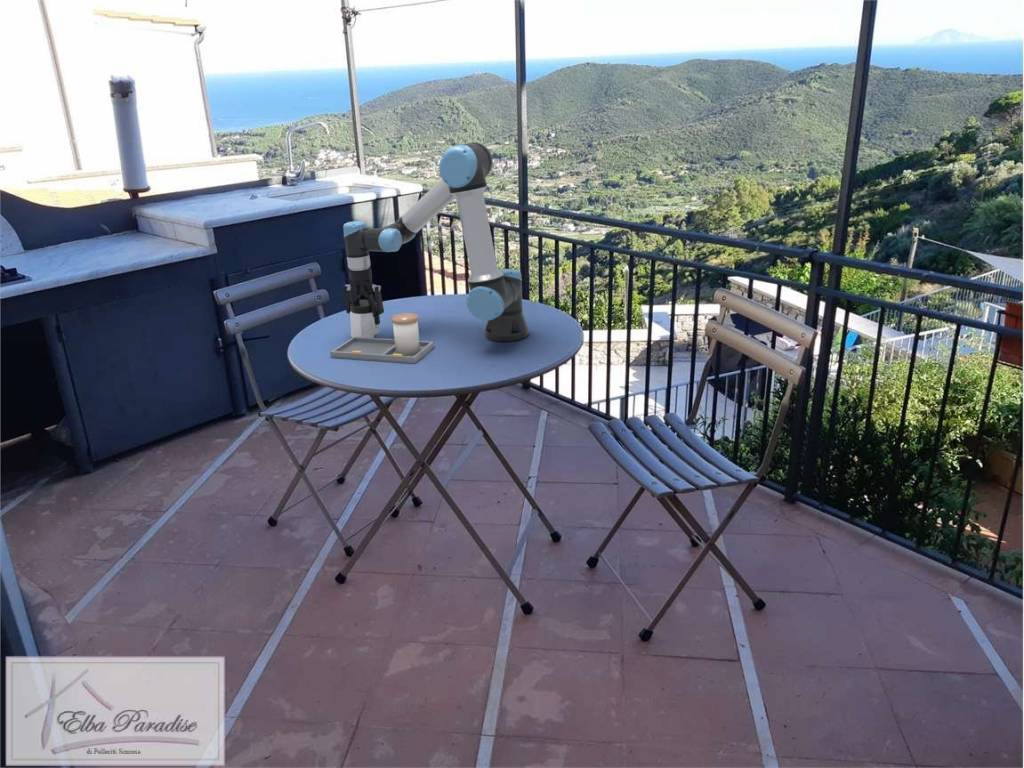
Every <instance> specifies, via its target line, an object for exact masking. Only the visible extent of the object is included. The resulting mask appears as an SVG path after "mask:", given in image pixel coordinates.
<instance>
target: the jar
mask: <svg viewBox="0 0 1024 768" xmlns="http://www.w3.org/2000/svg"><path fill="white" fill-rule="evenodd" d="M349 315H350V316H349V317H350V334H351V338H352V337H367V338H375V335H374V332H373V324H372V316H373V313H372V310H371V306H370V305H369V303H368V301H367V299H360V301H359V302H358V303H353V300H352V302H351V303H350V314H349Z"/></svg>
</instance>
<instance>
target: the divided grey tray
mask: <svg viewBox="0 0 1024 768" xmlns="http://www.w3.org/2000/svg"><path fill="white" fill-rule="evenodd" d="M419 342H420V351H419V352H418V353H417V354H416V355H414V356H403V354H396V351H395V341H394V338H382V337H381V338H378V337H374V338H367V337H351V338H349V339H348V340H346V341H345V342H343V343H342V344H339V346H337V347H335V348H333V349H332V350H330V351H329V355H330V358H331V357H332V358H331V359H333V358H334V359H342V358H344V360H345V359H346V360H358V361H359V360H360V361H369V362H370V361H373V362H385V363H397V364H398V363H400V364H411V365H412V364H413V365H415V364H417V363H418V362H419V361H420V360H421V359H423V358H424V357H425V356H427V355H428V354H429V353H430V352H431V351H433V350H434V349H435V341H429V340H419Z"/></svg>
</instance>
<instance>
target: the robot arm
mask: <svg viewBox="0 0 1024 768" xmlns="http://www.w3.org/2000/svg"><path fill="white" fill-rule="evenodd" d="M439 160H440V161H439V164H438V170H439V174H440V177H441V179H440V180H439V181H438V182H437V183H436V184H435V185H434V186H433V187H431V188H430V189H429V190H428V191H427V192H425V194H424V195H423V196H422V197H420V198H419V199H418V201H417V202H415V203H414V204H413V205H412V206H411V207H410V208H409V209H407V211H406V212H404V214H402V216H400V217H399V218H398V219H397V220H396V221H395V222H393V223H391V224H388V225H385V226H383V227H377V228H369V227H367V224H366V222H365V221H359V220H357V221H355V220H354V221H347V222H346V223H344V224H343V227H342V228H343V239H344V244H345V251H346V260H347V267H348V277H349V281H350V283H349V284H348V283H347V284H345V285H343V286H342V290H343V292H344V298H345V299H344V301H345V312H346V314H348V315H350V303H351V302H352V301H353V303H358V302H359V301H360V300H361V297H362V296H364V298H365V300H367V301H368V303H369V305H370V306H371V310H372V313H373V316H372V324H373V332H374V335H377V334H379V333H380V329H379V328H380V327H379V325H380V323H381V319H380V318H381V316H380V315H382V314H384V313H385V309H384V304H383V298H382V292H381V291H382V285H380V284H379V285H376V284H374V281H373V275H372V268H371V259H370V252H379V253H380V252H382V253H391V252H394V253H395V252H398V251H399V250H400V248H401V247H402V245H404V244H406V243H409V242H410V241H412V240H413V239H414V238H415V237H416V234H417V233H419V231H421V229H422V228H424V227H425V226H427V224H429V222H430V221H432V220H433V219H434V218H435V217H436V216H437V215H438V214H440V213H441V212H442V211H443V210H444V209H446V207H448V206H449V205H450V204H451V203H452V202H453V201H454V200H456V205H457V210H458V214H459V221H460V225H461V229H462V235H463V239H464V244H465V250H466V254H467V259H468V265H469V270H470V276H469V277H468V279H467V282H468V283H467V284H468V289H469V292H468V294H467V297H466V306H467V307H466V308H467V309H468V311H469V312H470V314H471V315H473V316H474V317H475V318H476V319H477V320H478V319H479V320H480V321H481V320H482V321H486V323H485V327H484V338H486V339H487V338H488V339H487V340H489V339H490V340H489V341H493V340H494V342H501V341H507V342H515V341H514V340H516V341H520V340H523V339H525V338H527V337H528V336H529V326H528V323H527V321H526V318H525V316H524V315H525V314H524V312H523V311H524V309H523V285H522V284H523V283H522V282H523V279H522V273H521V271H519V270H518V269H512V268H498V264H497V259H496V255H495V247H494V243H493V236H492V233H491V232H492V231H491V228H490V223H489V216H488V212H487V206H486V201H485V197H484V192H485V191H486V189H488V186H487V185H488V183H487V178H486V177H488V175H490V173H491V171H492V169H493V164H494V163H493V162H494V161H493V155H492V154H491V151H490V150H489V148H488V147H487V146H486V145H484V144H482V143H480V142H469V143H464V144H457V145H454V146H452V147H450V148H448V149H446V151H444V153H442V156H441V158H440V159H439ZM352 290H353V295H352ZM372 291H373V292H374V293H373V292H372ZM352 297H353V298H352ZM527 335H528V336H527ZM526 336H527V337H526ZM524 337H525V338H524ZM522 338H523V339H522ZM519 339H520V340H519Z"/></svg>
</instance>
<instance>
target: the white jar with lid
mask: <svg viewBox="0 0 1024 768" xmlns="http://www.w3.org/2000/svg"><path fill="white" fill-rule="evenodd" d="M418 321H419V315H418V314H417V313H414V312H402V313H397V314H394V315H392V316H391V322H392V328H393V329H392V330H393V339H394V341H395V351H396V354H403V356H414V355H416V354H417V353H418V352H419V351H420V342H419V341H420V333H419V322H418Z"/></svg>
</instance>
